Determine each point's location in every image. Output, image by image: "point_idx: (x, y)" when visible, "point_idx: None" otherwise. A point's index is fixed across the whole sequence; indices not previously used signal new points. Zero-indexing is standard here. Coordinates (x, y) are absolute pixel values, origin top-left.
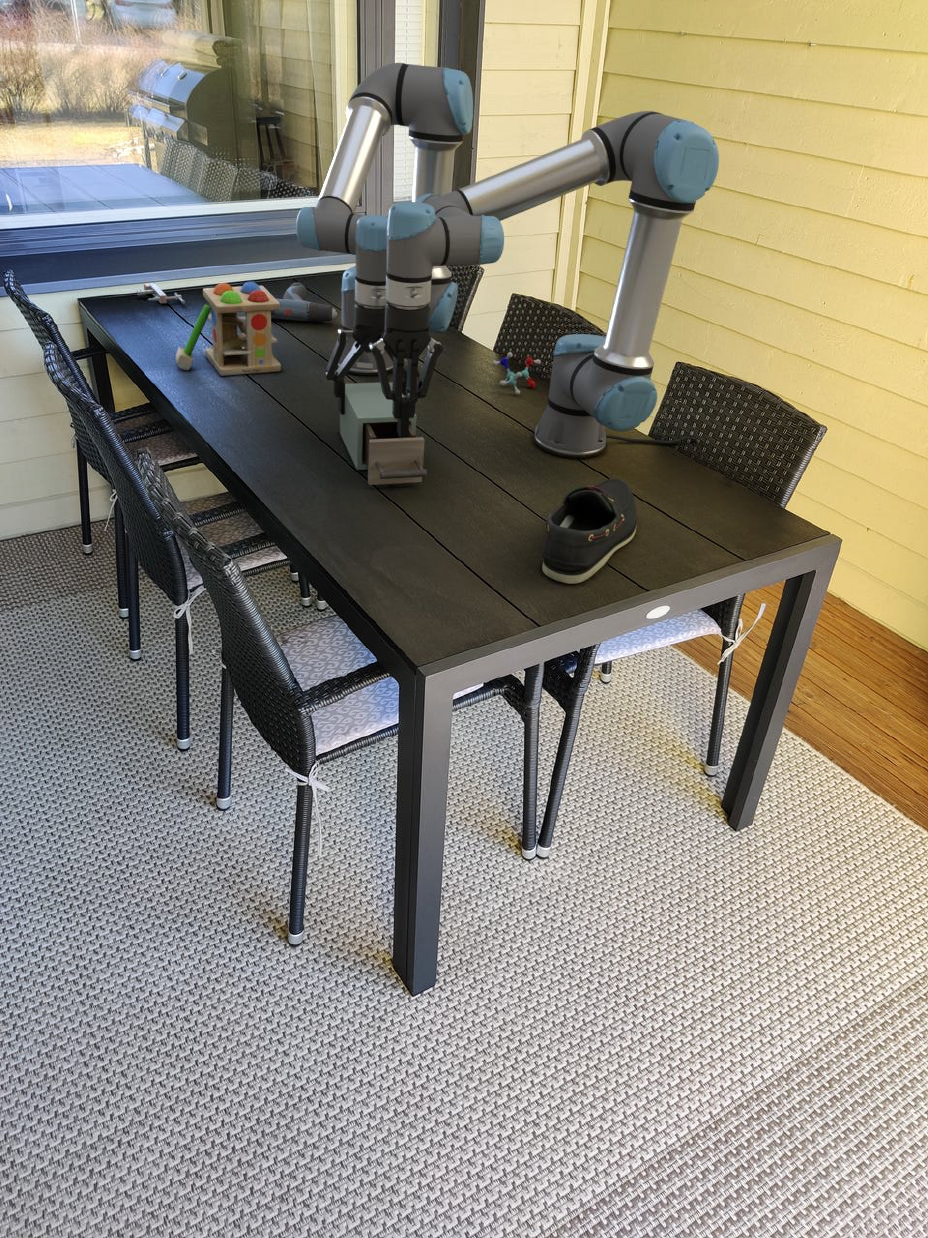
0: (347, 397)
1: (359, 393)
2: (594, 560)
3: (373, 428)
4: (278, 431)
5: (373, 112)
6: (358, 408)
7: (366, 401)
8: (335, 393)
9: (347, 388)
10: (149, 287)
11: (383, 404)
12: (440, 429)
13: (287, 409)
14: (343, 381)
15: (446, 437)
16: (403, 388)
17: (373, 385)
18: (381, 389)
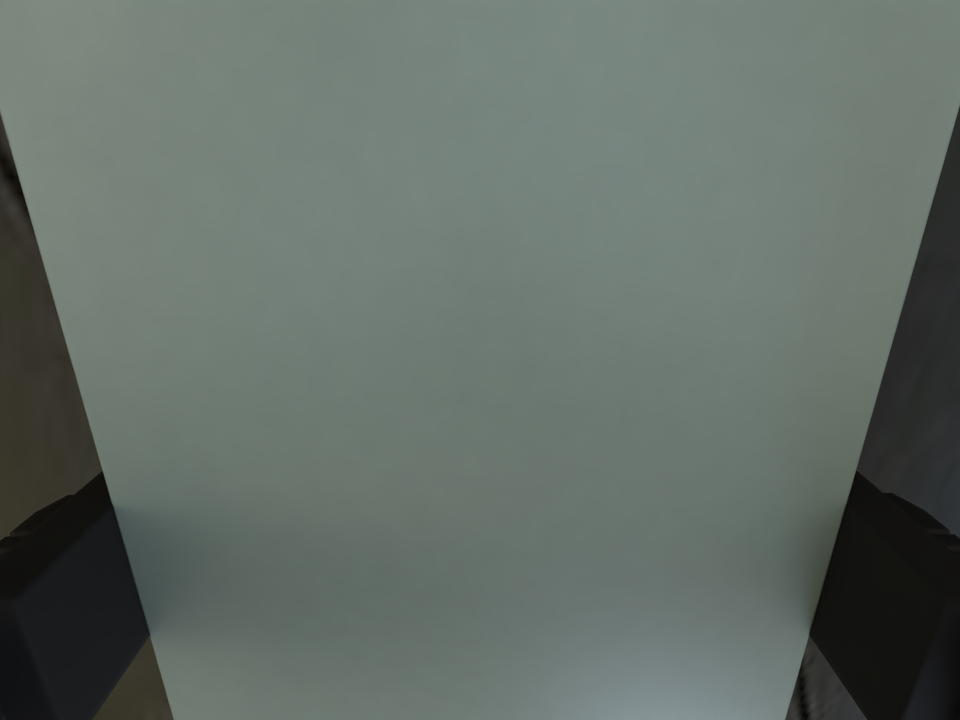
0: (886, 357)
1: (672, 471)
2: None
3: None
4: (948, 489)
5: None
6: None
7: (671, 181)
8: (936, 522)
9: (760, 614)
10: None
11: (425, 9)
12: (47, 434)
13: (798, 698)
14: (932, 664)
15: (8, 326)
16: (54, 525)
17: (434, 666)
18: (360, 562)
